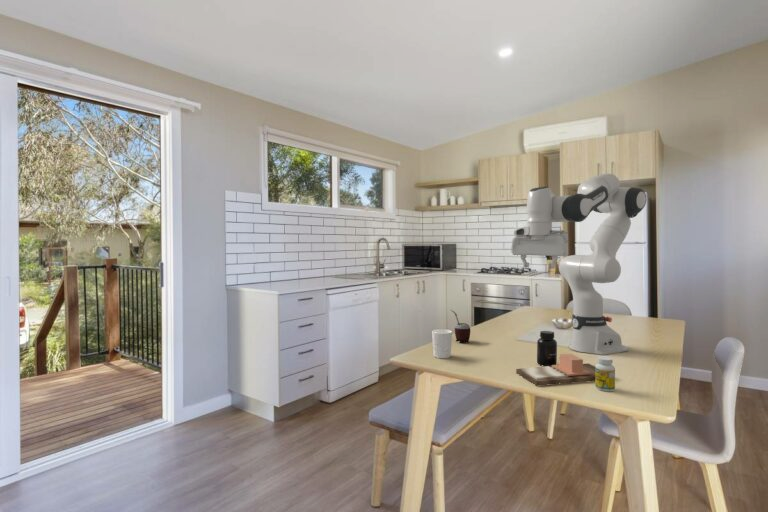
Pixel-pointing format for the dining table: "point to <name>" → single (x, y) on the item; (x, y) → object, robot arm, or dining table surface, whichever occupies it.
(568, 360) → the stub
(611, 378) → the supplement bottle
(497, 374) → the dining table surface
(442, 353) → the white cup
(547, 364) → the supplement bottle
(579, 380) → the ticket board
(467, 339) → the mate gourd
